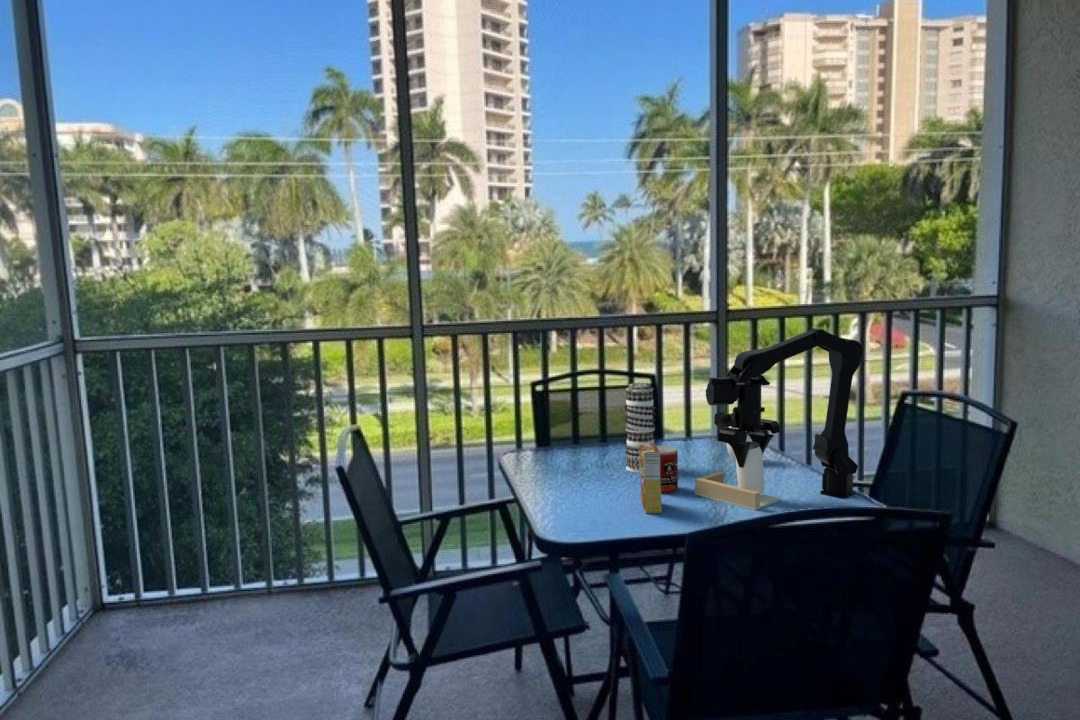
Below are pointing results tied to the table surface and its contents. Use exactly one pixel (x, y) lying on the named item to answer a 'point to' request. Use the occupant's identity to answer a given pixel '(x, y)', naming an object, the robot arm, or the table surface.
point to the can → (752, 470)
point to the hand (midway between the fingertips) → (748, 464)
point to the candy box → (650, 478)
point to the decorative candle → (638, 422)
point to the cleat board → (731, 493)
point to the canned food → (668, 468)
